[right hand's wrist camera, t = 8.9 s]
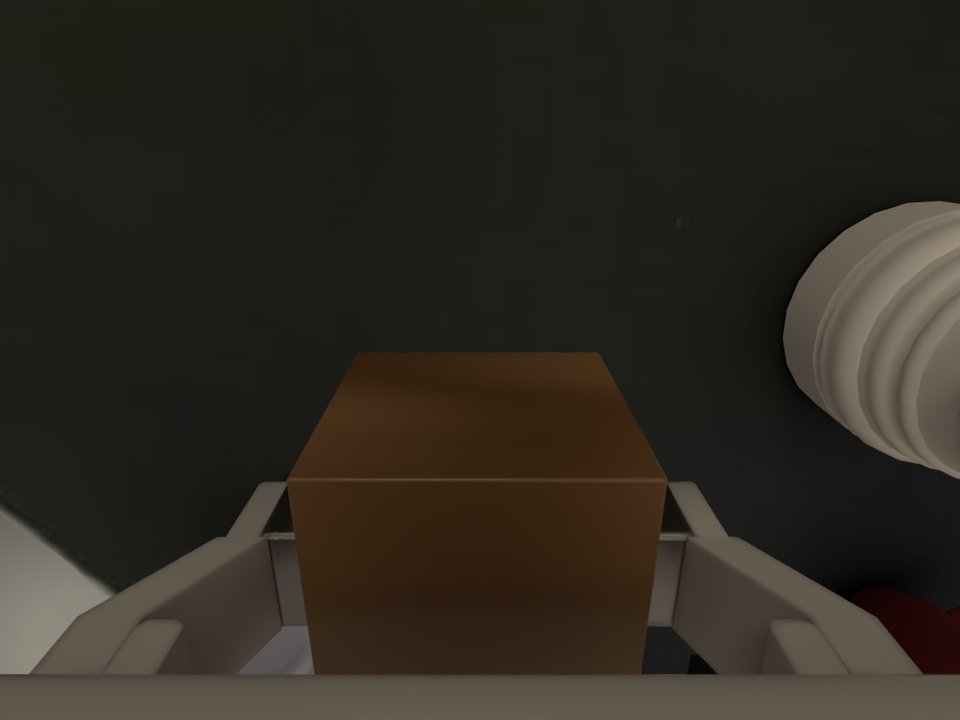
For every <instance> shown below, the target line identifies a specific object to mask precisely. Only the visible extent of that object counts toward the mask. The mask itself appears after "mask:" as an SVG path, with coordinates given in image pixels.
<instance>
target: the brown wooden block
mask: <svg viewBox="0 0 960 720" xmlns="http://www.w3.org/2000/svg"><path fill="white" fill-rule="evenodd" d="M287 487H288V494H289V501H290V508H291V515H292V522H293V529H294V536H295V543H296V550H297V557H298V564H299V571H300V578H301V585H302V592H303V599H304V606H305V613H306V620H307V627H308V633H309V640H310V647H311V654H312V661H313V668H314V674H427V675H596V674H641V668H642V661H643V653H644V646H645V639H646V632H647V625H648V618H649V610H650V603H651V596H652V589H653V582H654V574H655V567H656V560H657V553H658V546H659V539H660V531H661V524H662V517H663V510H664V503H665V496H666V488H667V478H666V476H665V474H664V472H663V470H662V469H661V467H660V465H659V463H658V461H657V459H656V457H655V456H654V454H653V452H652V450H651V448H650V446H649V445H648V443H647V441H646V439H645V437H644V435H643V434H642V432H641V430H640V428H639V426H638V424H637V422H636V421H635V419H634V417H633V415H632V413H631V411H630V410H629V408H628V406H627V404H626V402H625V400H624V399H623V397H622V395H621V393H620V391H619V389H618V387H617V386H616V384H615V382H614V380H613V378H612V376H611V375H610V373H609V371H608V369H607V367H606V365H605V364H604V362H603V360H602V358H601V356H600V354H599V353H357V355H356V357H355V359H354V360H353V362H352V364H351V366H350V368H349V369H348V371H347V373H346V375H345V376H344V378H343V380H342V382H341V384H340V385H339V387H338V389H337V391H336V392H335V394H334V396H333V398H332V400H331V401H330V403H329V405H328V407H327V408H326V410H325V412H324V414H323V416H322V417H321V419H320V421H319V423H318V424H317V426H316V428H315V430H314V432H313V433H312V435H311V437H310V439H309V440H308V442H307V444H306V446H305V448H304V449H303V451H302V453H301V455H300V456H299V458H298V460H297V462H296V464H295V465H294V467H293V469H292V471H291V472H290V474H289V476H288V478H287Z"/></svg>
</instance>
